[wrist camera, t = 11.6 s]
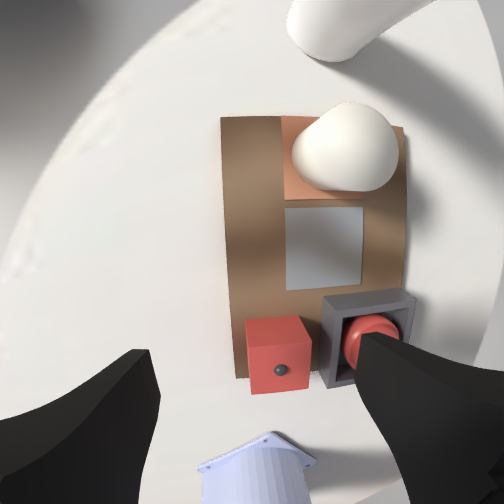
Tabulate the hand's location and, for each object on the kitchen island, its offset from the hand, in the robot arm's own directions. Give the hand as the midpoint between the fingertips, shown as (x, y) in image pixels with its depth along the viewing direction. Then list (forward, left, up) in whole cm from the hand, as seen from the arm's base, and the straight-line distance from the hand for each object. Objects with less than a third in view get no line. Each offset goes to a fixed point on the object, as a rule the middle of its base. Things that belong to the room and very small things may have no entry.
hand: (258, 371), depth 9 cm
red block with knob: (-1, -4, -9) cm, 10 cm away
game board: (+5, -2, -9) cm, 11 cm away
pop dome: (+4, -8, -8) cm, 12 cm away
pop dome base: (+4, -8, -9) cm, 12 cm away
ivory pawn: (+9, +3, -8) cm, 12 cm away
